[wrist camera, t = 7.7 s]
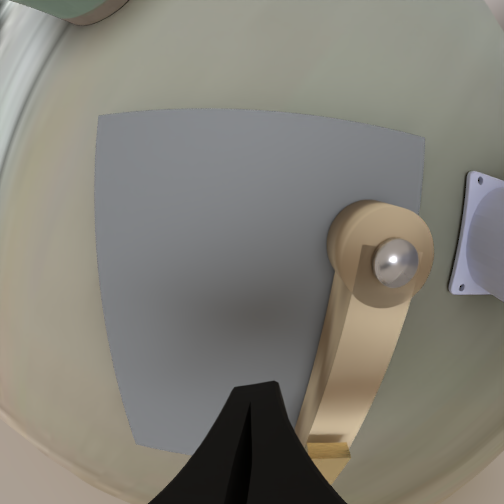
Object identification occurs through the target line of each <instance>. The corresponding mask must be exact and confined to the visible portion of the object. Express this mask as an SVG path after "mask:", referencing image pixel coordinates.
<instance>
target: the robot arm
mask: <svg viewBox="0 0 504 504" xmlns="http://www.w3.org/2000/svg"><path fill="white" fill-rule="evenodd" d="M478 178H479V183H478ZM461 284H462V286H461V288H460V289H459V287H460V285H461ZM449 291H450V292H451V293H452V294H454V295H478V294H492V295H494V296H495V297H497V298H498V299H500V300H501V301H503V302H504V181H503V180H500V179H497V178H494V177H491V176H489V175H486V174H483V173H480V172H476V171H470V172H469V173H468V175H467V183H466V194H465V203H464V211H463V218H462V224H461V231H460V237H459V242H458V247H457V252H456V257H455V262H454V266H453V271H452V275H451V279H450V283H449ZM148 504H347V503H346V502H345V501H344V500H343V499H342V498H341V497H340V496H339V495H338V493H337V492H336V491H335V490H334V489H333V487H332V486H331V485H330V484H329V483H328V481H327V480H326V479H325V477H324V476H323V475H322V473H321V472H320V471H319V469H318V468H317V467H316V465H315V464H314V462H313V461H312V459H311V458H310V456H309V455H308V453H307V452H306V450H305V448H304V447H303V445H302V443H301V442H300V440H299V438H298V436H297V435H296V433H295V431H294V429H293V427H292V425H291V423H290V421H289V418H288V415H287V411H286V408H285V404H284V400H283V397H282V393H281V389H280V386H279V383H278V382H276V381H268V382H263V383H257V384H250V385H244V386H237V387H234V388H233V389H232V391H231V393H230V395H229V397H228V399H227V401H226V403H225V404H224V406H223V408H222V410H221V412H220V414H219V415H218V417H217V419H216V421H215V422H214V424H213V425H212V427H211V429H210V430H209V432H208V434H207V435H206V437H205V438H204V440H203V441H202V443H201V444H200V446H199V447H198V448H197V450H196V451H195V453H194V454H193V455H192V457H191V458H190V459H189V461H188V462H187V463H186V465H185V466H184V467H183V468H182V470H181V471H180V472H179V473H178V474H177V475H176V477H175V478H174V479H173V480H172V481H171V482H170V483H169V484H168V485H167V486H166V487H165V488H164V489H163V490H162V491H161V492H160V493H159V494H158V495H157V496H156V497H155V498H154V499H153V500H151V501H150V502H149V503H148Z"/></svg>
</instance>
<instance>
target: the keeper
mask: <svg viewBox="0 0 504 504" xmlns="http://www.w3.org/2000/svg"><path fill="white" fill-rule="evenodd" d="M304 448H305V450H306V452H307V453H308V455H309V456H310V458H311V459H312V461H313V462H314V464H315V465H316V467H317V468H318V469H319V471H320V472H321V473H322V475H323V476H324V477H325V479H326V480H327V481H328V483H329V484H330V485H331V484H332V483H333V482H334V480H335V479H336V478H337V476H338V475H339V474H340V472H341V471H342V470H343V468H344V467H345V465H346V464H347V463H348V461H349V460H350V458H351V456H350V452H349V448H348V445H347V442H340V443H306V445H305V447H304Z"/></svg>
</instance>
